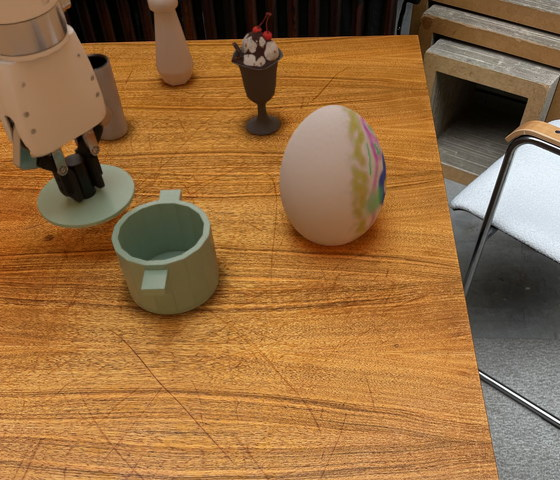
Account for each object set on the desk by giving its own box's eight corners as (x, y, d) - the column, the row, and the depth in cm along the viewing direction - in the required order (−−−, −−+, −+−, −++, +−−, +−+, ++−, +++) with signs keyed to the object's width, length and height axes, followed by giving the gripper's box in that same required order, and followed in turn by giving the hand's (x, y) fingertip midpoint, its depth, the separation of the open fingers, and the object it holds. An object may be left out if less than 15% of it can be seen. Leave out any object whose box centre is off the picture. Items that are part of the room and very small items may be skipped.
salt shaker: (202, 73, 101) (188, -16, 91) (184, 91, 98) (168, 1, 88) (170, 67, 103) (153, -21, 92) (152, 84, 100) (132, -5, 89)
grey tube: (91, 132, 93) (68, 62, 85) (117, 119, 94) (97, 49, 86) (107, 144, 91) (86, 74, 82) (134, 131, 92) (115, 61, 84)
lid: (29, 234, 72) (10, 194, 68) (52, 173, 79) (36, 133, 75) (128, 230, 72) (115, 189, 67) (143, 169, 78) (131, 128, 74)
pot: (118, 334, 69) (99, 285, 63) (139, 236, 78) (124, 185, 72) (213, 332, 68) (203, 282, 62) (223, 233, 78) (215, 182, 72)
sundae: (295, 120, 92) (291, 10, 80) (268, 143, 89) (260, 33, 77) (258, 107, 94) (248, -1, 82) (231, 130, 91) (217, 21, 79)
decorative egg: (389, 254, 74) (402, 139, 62) (284, 262, 74) (277, 148, 62) (375, 188, 81) (383, 74, 69) (279, 196, 82) (272, 83, 70)
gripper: (68, -15, 64) (116, 146, 79) (-73, 51, 58) (8, 214, 72) (115, 3, 61) (157, 167, 76) (-28, 75, 54) (48, 240, 69)
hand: (84, 189), depth 74 cm, fingers closed on lid, 2 cm apart
